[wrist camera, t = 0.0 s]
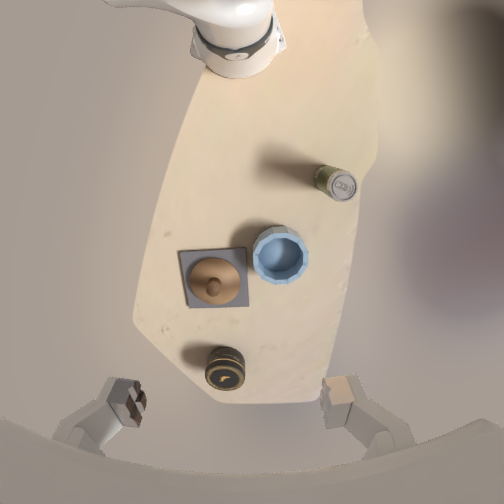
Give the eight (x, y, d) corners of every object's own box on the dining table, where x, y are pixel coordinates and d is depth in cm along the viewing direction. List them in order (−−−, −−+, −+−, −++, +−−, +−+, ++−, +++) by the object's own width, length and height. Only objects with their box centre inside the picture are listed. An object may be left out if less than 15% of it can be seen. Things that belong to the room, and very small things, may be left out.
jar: (201, 362, 72) (197, 382, 65) (218, 339, 69) (215, 359, 62) (234, 376, 74) (233, 396, 67) (252, 354, 71) (252, 374, 64)
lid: (187, 258, 60) (182, 267, 56) (238, 256, 60) (237, 265, 55) (194, 302, 64) (190, 313, 60) (242, 301, 64) (241, 312, 59)
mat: (180, 251, 60) (179, 252, 59) (245, 247, 60) (245, 249, 59) (189, 306, 65) (189, 308, 65) (249, 304, 65) (249, 306, 64)
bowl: (251, 227, 58) (251, 234, 54) (304, 224, 58) (308, 231, 53) (254, 274, 62) (254, 285, 58) (303, 272, 62) (307, 282, 57)
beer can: (308, 185, 55) (323, 195, 44) (318, 160, 53) (335, 165, 42) (332, 195, 56) (351, 208, 45) (342, 171, 54) (364, 178, 43)
